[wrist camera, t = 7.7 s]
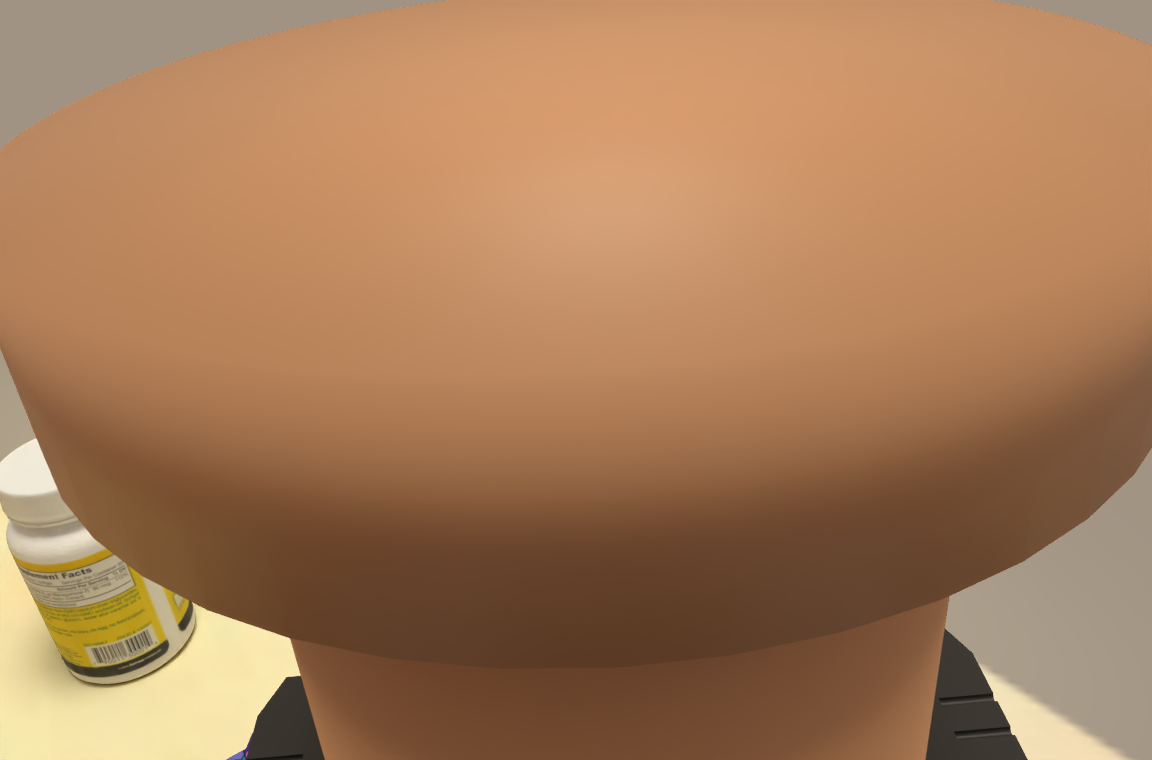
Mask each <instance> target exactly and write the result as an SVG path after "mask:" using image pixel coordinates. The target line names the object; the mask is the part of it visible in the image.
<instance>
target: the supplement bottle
mask: <svg viewBox="0 0 1152 760" xmlns="http://www.w3.org/2000/svg"><path fill="white" fill-rule="evenodd" d="M0 503H1V506H2V509H3V511H4V513H5V514H6V515H7V517H8V518H9V519H10V521H9V523H8V527H7V532H6V537H7V543H8V546H9V549H10V551H11V553H12V556H13V558H14V560H15V562H16V564H17V566H18V568H19V570H20V572H21V574H22V576H23V578H24V581H25V583H26V585H27V587H28V589H29V590H30V593H31V595H32V597H33V599H34V601H35V603H36V605H37V607H38V609H39V611H40V613H41V615H42V617H43V619H44V621H45V623H46V626H47V628H48V630H49V632H50V634H51V636H52V638H53V640H54V642H55V644H56V646H57V648H58V650H59V652H60V654H61V656H62V658H63V660H64V662H65V664H66V666H67V667H68V669H69V670H70V672H71V673H72V674H73V675H75V676H76V677H78V678H79V679H81V680H84V681H87V682H92V683H100V684H112V683H120V682H125V681H129V680H133V679H136V678H138V677H141V676H143V675H145V674H148V673H150V672H152V671H153V670H155V669H157V668H159V667H160V666H162V665H163V664H165V663H166V662H167V661H169V660H170V659H171V658H172V657H173V656H174V655H175V654H176V653H177V652H178V651H179V650H180V649H181V648H182V647H183V645H184V644H185V643H186V641H187V640H188V638H189V637H190V635H191V633H192V631H193V628H194V625H195V610H194V606H193V604H192V602H191V601H189V600H187V599H185V598H183V597H181V596H179V595H178V594H176V593H174V592H172V591H170V590H168V589H166V588H164V587H162V586H160V585H158V584H156V583H154V582H152V581H150V580H148V579H147V578H145V577H143V576H141V575H140V574H139V573H137V572H136V571H135V570H133V569H132V568H131V567H130V566H128V565H127V564H126V563H124V562H123V561H122V560H121V559H119V558H118V557H117V556H115V555H114V554H113V553H112V552H110V551H109V550H108V549H107V548H105V547H104V546H103V545H101V544H100V543H99V542H98V541H96V540H95V539H94V538H93V537H92V536H91V535H90V533H89V532H88V531H87V530H86V528H85V527H84V526H83V525H82V523H81V522H80V521H79V520H78V518H77V517H76V516H75V515H74V514H73V512H72V511H71V510H70V509H69V507H68V506H67V505H66V504H65V502H64V501H63V500H62V498H61V496H60V494H59V491H58V489H57V486H56V484H55V482H54V479H53V477H52V475H51V472H50V470H49V468H48V465H47V463H46V461H45V458H44V456H43V453H42V451H41V448H40V446H39V443H38V441H37V438H36V439H34V440H31V441H29V442H27V443H25V444H24V445H22V446H20V447H19V448H17V449H16V450H14V451H13V452H11V453H10V454H9V455H8V456H6V457H5V458H4V459H3V460H2V461H1V462H0Z"/></svg>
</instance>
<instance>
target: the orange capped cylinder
mask: <svg viewBox="0 0 1152 760" xmlns="http://www.w3.org/2000/svg"><path fill="white" fill-rule="evenodd" d="M0 348H1V351H2V354H3V356H4V358H5V361H6V363H7V366H8V368H9V371H10V373H11V376H12V378H13V381H14V383H15V386H16V388H17V391H18V393H19V396H20V398H21V401H22V403H23V406H24V408H25V411H26V413H27V416H28V418H29V421H30V423H31V426H32V428H33V431H34V433H35V435H36V438H37V441H38V443H39V446H40V448H41V451H42V453H43V456H44V458H45V461H46V463H47V465H48V468H49V470H50V472H51V475H52V477H53V479H54V482H55V484H56V486H57V489H58V491H59V494H60V496H61V498H62V500H63V501H64V502H65V504H66V505H67V506H68V507H69V509H70V510H71V511H72V512H73V514H74V515H75V516H76V517H77V518H78V520H79V521H80V522H81V523H82V525H83V526H84V527H85V528H86V530H87V531H88V532H89V533H90V535H91V536H92V537H93V538H94V539H95V540H96V541H98V542H99V543H100V544H101V545H103V546H104V547H105V548H107V549H108V550H109V551H110V552H112V553H113V554H114V555H115V556H117V557H118V558H119V559H121V560H122V561H123V562H124V563H126V564H127V565H128V566H130V567H131V568H132V569H133V570H135V571H136V572H137V573H139V574H140V575H141V576H143V577H145V578H147V579H148V580H150V581H152V582H154V583H156V584H158V585H160V586H162V587H164V588H166V589H168V590H170V591H172V592H174V593H176V594H178V595H179V596H181V597H183V598H185V599H187V600H189V601H191V602H193V603H195V604H197V605H199V606H201V607H203V608H205V609H207V610H209V611H212V612H215V613H218V614H221V615H224V616H226V617H229V618H232V619H235V620H238V621H241V622H244V623H247V624H250V625H253V626H256V627H259V628H262V629H265V630H268V631H271V632H274V633H276V634H279V635H282V636H285V637H288V638H290V639H291V643H292V646H293V650H294V653H295V657H296V660H297V664H298V667H299V671H300V674H301V678H302V681H303V685H304V688H305V692H306V695H307V699H308V702H309V706H310V709H311V713H312V716H313V720H314V723H315V727H316V730H317V734H318V737H319V741H320V744H321V748H322V751H323V755H324V758H325V760H925V759H926V752H927V745H928V738H929V732H930V725H931V718H932V711H933V704H934V697H935V691H936V684H937V677H938V670H939V663H940V657H941V650H942V643H943V636H944V629H945V622H946V616H947V609H948V602H949V596H950V595H952V594H955V593H957V592H959V591H961V590H963V589H965V588H967V587H969V586H972V585H974V584H976V583H978V582H980V581H982V580H985V579H987V578H989V577H991V576H993V575H995V574H997V573H1000V572H1002V571H1003V570H1006V569H1008V568H1010V567H1012V566H1014V565H1017V564H1019V563H1021V562H1023V561H1025V560H1026V559H1027V558H1029V557H1031V556H1032V555H1033V554H1035V553H1037V552H1038V551H1040V550H1041V549H1043V548H1044V547H1045V546H1047V545H1048V544H1050V543H1052V542H1053V541H1055V540H1056V539H1058V538H1059V537H1061V536H1062V535H1064V534H1065V533H1067V532H1068V531H1070V530H1072V529H1073V528H1075V527H1076V526H1078V525H1079V524H1080V523H1082V522H1084V521H1085V520H1087V519H1088V518H1089V517H1090V516H1091V515H1092V514H1093V513H1094V512H1095V511H1096V510H1097V509H1098V508H1100V506H1102V505H1103V504H1104V503H1105V502H1106V501H1107V500H1108V499H1109V498H1110V497H1111V496H1112V495H1113V494H1114V493H1115V492H1116V491H1117V490H1118V489H1119V488H1120V487H1121V486H1122V485H1124V484H1125V483H1126V482H1127V481H1128V480H1129V479H1130V478H1131V477H1132V476H1133V475H1134V474H1135V472H1136V471H1137V469H1138V468H1139V466H1140V465H1141V463H1142V462H1143V460H1144V459H1145V457H1146V456H1147V454H1148V452H1149V451H1150V449H1151V448H1152V46H1151V45H1149V44H1146V43H1144V42H1141V41H1139V40H1137V39H1134V38H1132V37H1129V36H1127V35H1124V34H1122V33H1120V32H1117V31H1114V30H1110V29H1107V28H1104V27H1101V26H1097V25H1094V24H1091V23H1088V22H1085V21H1082V20H1078V19H1075V18H1071V17H1067V16H1063V15H1059V14H1054V13H1050V12H1046V11H1042V10H1038V9H1033V8H1030V7H1024V6H1019V5H1013V4H1008V3H1003V2H997V1H991V0H449V1H442V2H434V3H427V4H421V5H415V6H409V7H402V8H397V9H391V10H384V11H378V12H373V13H368V14H363V15H357V16H353V17H347V18H342V19H337V20H332V21H326V22H322V23H318V24H313V25H308V26H304V27H300V28H295V29H291V30H286V31H282V32H278V33H273V34H270V35H266V36H262V37H258V38H254V39H250V40H247V41H243V42H239V43H235V44H231V45H228V46H224V47H222V48H218V49H214V50H211V51H208V52H204V53H201V54H198V55H195V56H191V57H188V58H184V59H181V60H179V61H176V62H173V63H170V64H167V65H164V66H162V67H159V68H156V69H153V70H150V71H147V72H144V73H141V74H139V75H136V76H134V77H131V78H129V79H126V80H124V81H121V82H119V83H116V84H114V85H112V86H109V87H107V88H104V89H102V90H99V91H97V92H95V93H93V94H91V95H89V96H87V97H85V98H83V99H81V100H79V101H77V102H75V103H72V104H70V105H68V106H66V107H64V108H62V109H60V110H58V111H56V112H55V113H53V114H51V115H50V116H48V117H46V118H45V119H43V120H41V121H40V122H38V123H36V124H35V125H33V126H31V127H30V128H28V129H26V130H25V131H23V132H22V133H20V134H19V135H18V136H16V137H15V138H14V139H13V140H11V141H10V142H9V143H7V144H6V145H5V146H4V147H2V148H1V149H0Z"/></svg>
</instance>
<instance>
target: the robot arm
mask: <svg viewBox="0 0 1152 760" xmlns="http://www.w3.org/2000/svg"><path fill="white" fill-rule="evenodd" d="M246 760H325V758H324V755H323V751H322V748H321V744H320V741H319V737H318V734H317V730H316V727H315V723H314V720H313V716H312V713H311V709H310V706H309V702H308V699H307V695H306V692H305V688H304V685H303V681H302V678H301V676H295V677H287V678H286V679H285V680H284V682H283V683H282V684H281V686H280V687H279V688H278V690H277V691H276V692H275V694H274V695H273V696H272V698H271V699H270V700H269V702H268V703H267V704H266V706H265V707H264V708H263V710H262V711H261V712H260V714H259V715H258V717H257V720H256V724H255V728H254V732H253V735H252V739H251V743H250V746H249V750H248V754H247V758H246ZM925 760H1028V759H1027V758H1026V756H1025V754H1024V752H1023V750H1022V748H1021V746H1020V744H1019V742H1018V740H1017V738H1016V736H1015V735H1012V734H1011V730H1010V725H1009V723H1008V721H1007V719H1006V717H1005V715H1004V713H1003V711H1002V709H1001V707H1000V705H999V703H998V702H997V701H994V698H993V692H992V690H991V688H990V686H989V684H988V682H987V680H986V678H985V676H984V674H983V673H982V671H981V669H980V667H979V665H978V663H977V661H976V659H975V657H974V655H973V653H972V652H971V651H969V650H968V649H967V648H966V647H965V646H964V645H963V644H962V643H961V642H959V641H958V640H957V639H956V638H955V637H954V636H953V635H952V634H950V633H949V632H948V631H947V630H946V629H944V636H943V643H942V650H941V657H940V663H939V670H938V677H937V684H936V691H935V697H934V704H933V711H932V718H931V725H930V732H929V738H928V745H927V752H926V759H925Z"/></svg>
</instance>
